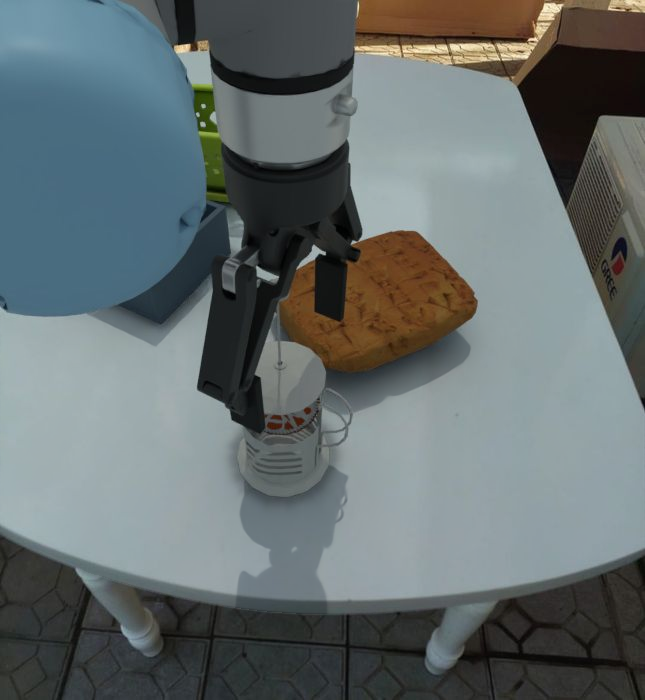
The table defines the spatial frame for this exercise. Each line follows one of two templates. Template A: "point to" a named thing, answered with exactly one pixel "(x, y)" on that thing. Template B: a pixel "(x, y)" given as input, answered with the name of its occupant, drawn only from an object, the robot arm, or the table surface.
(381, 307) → the inscribed clay slab
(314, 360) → the french press
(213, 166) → the flower pot
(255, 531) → the table surface
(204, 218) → the tub
